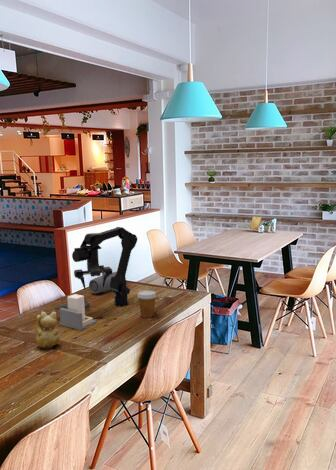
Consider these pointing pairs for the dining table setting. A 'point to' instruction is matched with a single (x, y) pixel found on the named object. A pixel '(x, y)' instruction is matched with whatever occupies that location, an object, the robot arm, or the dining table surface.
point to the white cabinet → (77, 304)
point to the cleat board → (74, 319)
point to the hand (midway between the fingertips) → (93, 288)
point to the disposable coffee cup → (147, 302)
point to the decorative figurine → (47, 330)
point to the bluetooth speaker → (96, 284)
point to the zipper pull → (67, 305)
